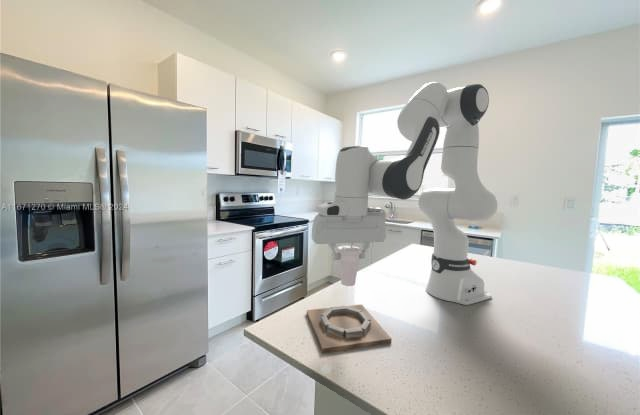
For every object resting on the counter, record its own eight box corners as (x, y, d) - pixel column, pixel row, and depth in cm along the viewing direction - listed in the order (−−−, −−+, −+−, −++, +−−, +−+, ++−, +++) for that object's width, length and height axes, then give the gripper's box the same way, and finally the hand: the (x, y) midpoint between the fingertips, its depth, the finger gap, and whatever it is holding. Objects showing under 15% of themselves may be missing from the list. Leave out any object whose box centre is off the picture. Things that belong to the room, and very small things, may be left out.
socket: (361, 308, 81) (362, 300, 81) (391, 343, 64) (391, 332, 64) (306, 313, 76) (306, 305, 76) (322, 353, 59) (322, 342, 59)
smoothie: (359, 289, 65) (361, 235, 64) (334, 286, 66) (336, 233, 65) (360, 280, 71) (362, 231, 70) (337, 278, 72) (339, 229, 71)
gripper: (380, 206, 72) (377, 253, 74) (310, 206, 67) (309, 256, 69) (392, 209, 66) (389, 260, 68) (316, 208, 61) (314, 264, 62)
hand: (348, 258), depth 68 cm, fingers closed on smoothie, 6 cm apart
